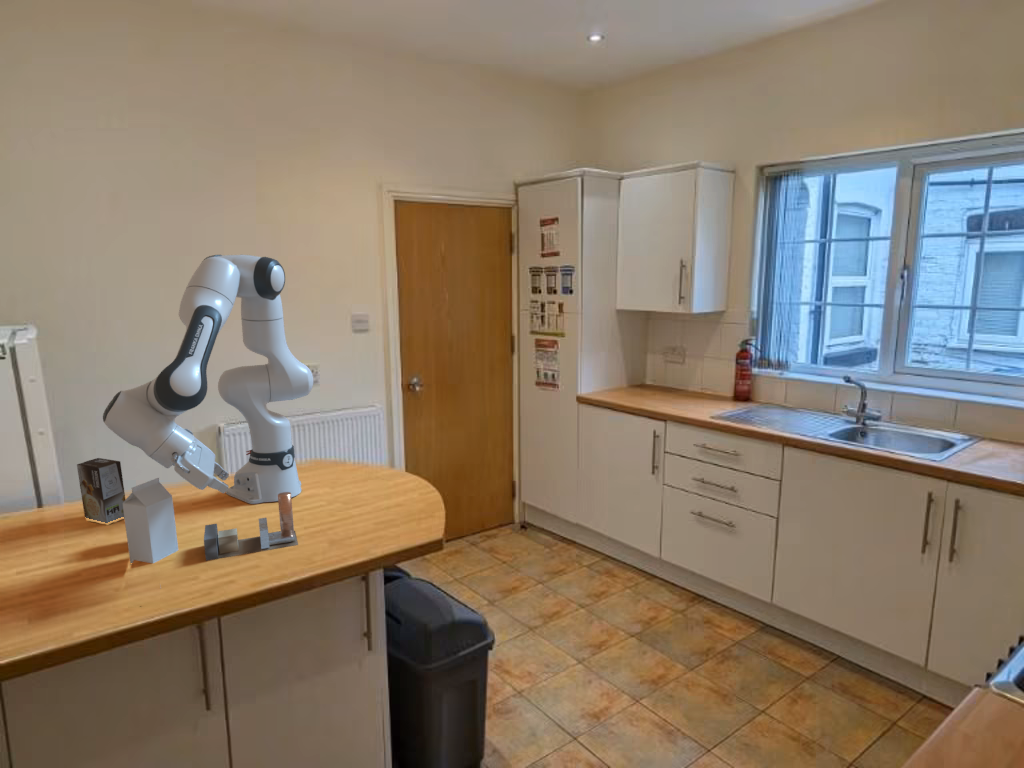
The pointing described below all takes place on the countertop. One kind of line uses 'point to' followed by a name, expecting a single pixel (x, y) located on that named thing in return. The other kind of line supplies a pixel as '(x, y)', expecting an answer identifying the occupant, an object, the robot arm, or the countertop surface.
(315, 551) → the countertop surface
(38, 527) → the countertop surface
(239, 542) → the base
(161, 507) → the milk carton
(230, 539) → the block
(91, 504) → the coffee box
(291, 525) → the press handle
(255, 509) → the countertop surface
